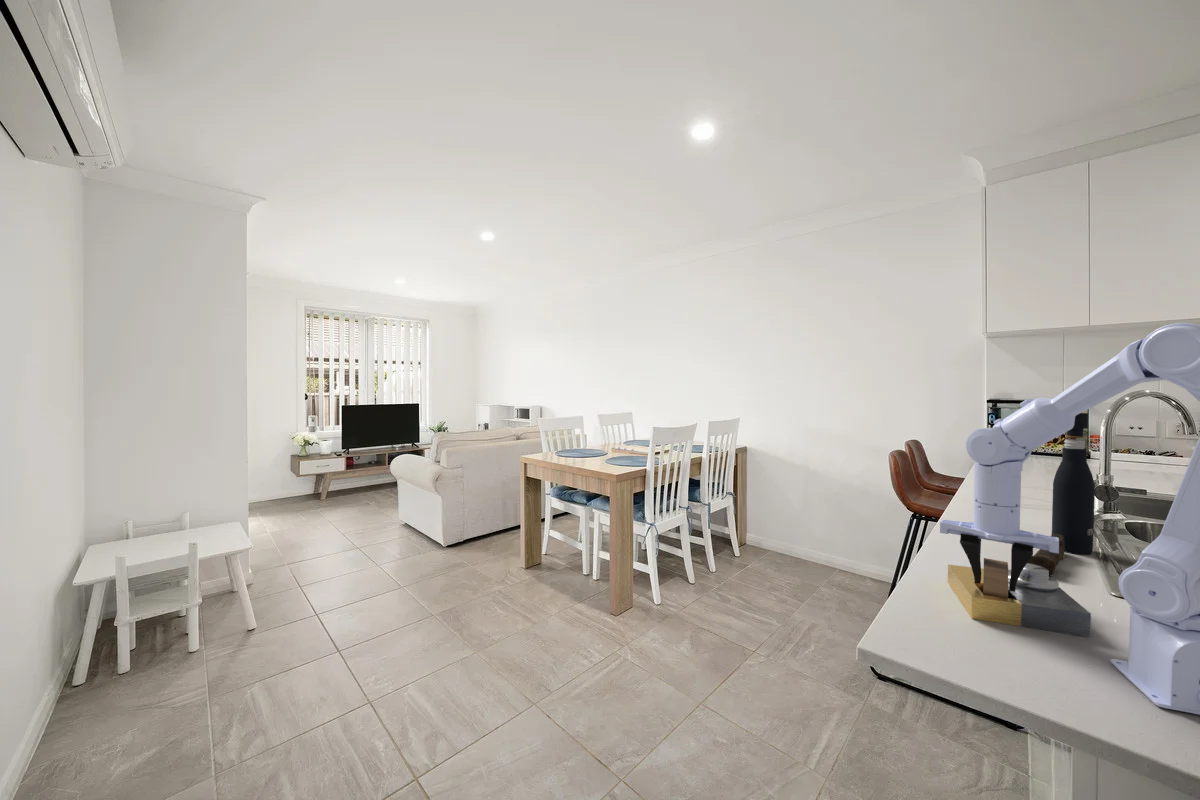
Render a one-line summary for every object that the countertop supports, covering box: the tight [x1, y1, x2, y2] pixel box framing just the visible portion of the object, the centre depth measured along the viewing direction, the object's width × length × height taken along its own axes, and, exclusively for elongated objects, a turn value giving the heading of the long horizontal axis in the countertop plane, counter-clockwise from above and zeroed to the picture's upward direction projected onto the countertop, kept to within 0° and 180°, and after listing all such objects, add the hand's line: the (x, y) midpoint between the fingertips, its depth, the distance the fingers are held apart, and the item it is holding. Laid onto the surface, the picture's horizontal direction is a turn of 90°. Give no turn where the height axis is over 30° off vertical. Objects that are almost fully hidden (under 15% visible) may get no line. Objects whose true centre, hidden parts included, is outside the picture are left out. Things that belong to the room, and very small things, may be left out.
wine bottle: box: [1051, 412, 1096, 556], centre depth 102 cm, size 6×6×30 cm
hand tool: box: [1027, 534, 1065, 577], centre depth 95 cm, size 19×4×5 cm, turn 125°
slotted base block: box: [947, 563, 1092, 638], centre depth 77 cm, size 14×14×6 cm
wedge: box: [983, 557, 1010, 598], centre depth 76 cm, size 4×3×8 cm
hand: (994, 585), depth 76 cm, fingers open, 4 cm apart
